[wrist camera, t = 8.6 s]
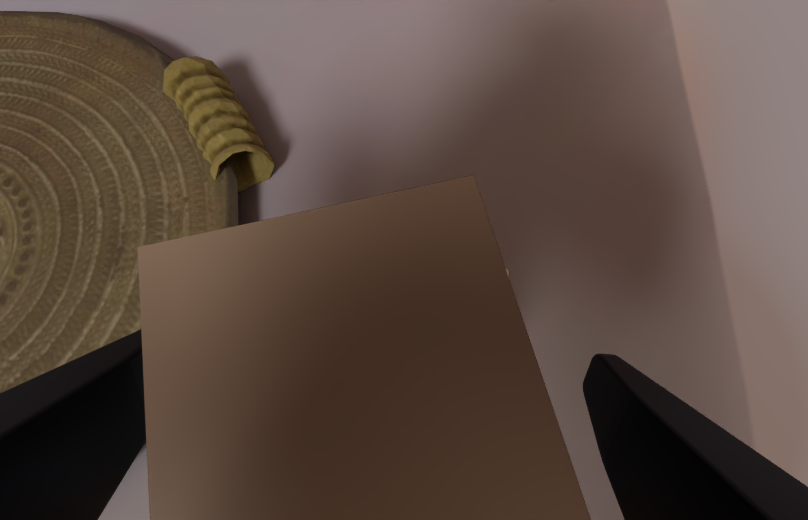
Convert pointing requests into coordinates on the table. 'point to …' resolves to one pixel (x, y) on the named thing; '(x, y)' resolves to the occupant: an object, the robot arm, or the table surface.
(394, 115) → the table surface
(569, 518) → the wooden box
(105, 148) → the decorative disc
